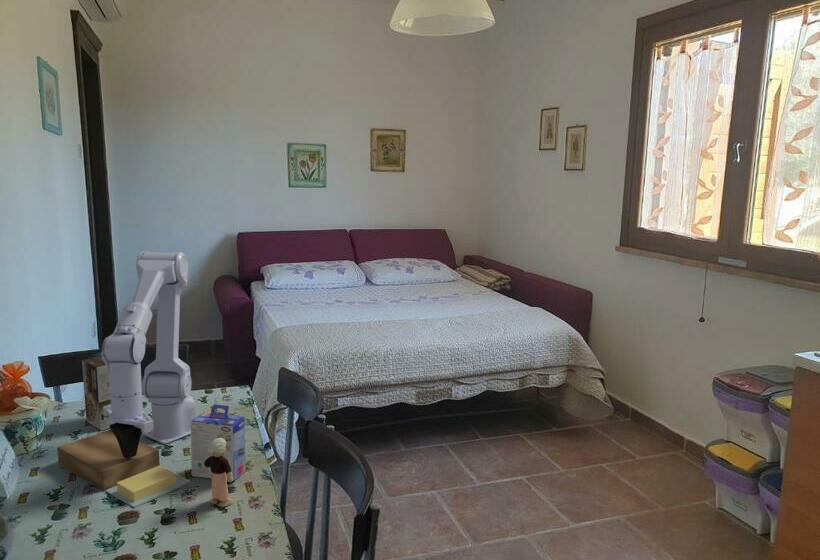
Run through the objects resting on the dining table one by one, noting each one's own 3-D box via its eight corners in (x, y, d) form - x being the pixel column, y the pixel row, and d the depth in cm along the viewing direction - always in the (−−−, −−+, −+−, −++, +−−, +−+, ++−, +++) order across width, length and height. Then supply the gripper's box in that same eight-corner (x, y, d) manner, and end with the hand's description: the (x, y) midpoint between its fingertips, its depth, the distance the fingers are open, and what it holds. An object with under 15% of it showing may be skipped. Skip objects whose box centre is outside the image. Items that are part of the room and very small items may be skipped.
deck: (113, 445, 137) (112, 428, 136) (159, 467, 127) (158, 450, 126) (58, 464, 127) (57, 447, 126) (104, 490, 117) (102, 471, 116)
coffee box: (127, 423, 149) (123, 361, 146) (100, 431, 144) (95, 367, 142) (111, 414, 155) (108, 354, 152) (85, 421, 150) (80, 359, 148)
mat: (161, 468, 127) (161, 467, 127) (190, 482, 121) (190, 481, 121) (105, 491, 117) (105, 490, 117) (134, 508, 111) (134, 506, 111)
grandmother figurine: (242, 500, 115) (241, 437, 113) (230, 510, 111) (228, 446, 109) (209, 492, 117) (207, 431, 115) (196, 502, 114) (194, 439, 112)
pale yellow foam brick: (176, 474, 120) (177, 483, 120) (159, 465, 123) (159, 474, 123) (133, 492, 112) (134, 502, 113) (116, 482, 116) (117, 492, 116)
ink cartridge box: (247, 470, 127) (246, 405, 125) (234, 482, 121) (233, 415, 119) (205, 464, 129) (202, 400, 126) (190, 477, 123) (188, 410, 121)
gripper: (87, 390, 120) (91, 453, 122) (127, 406, 112) (131, 474, 115) (120, 381, 126) (124, 441, 128) (161, 396, 118) (164, 460, 120)
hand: (129, 456), depth 122 cm, fingers closed
